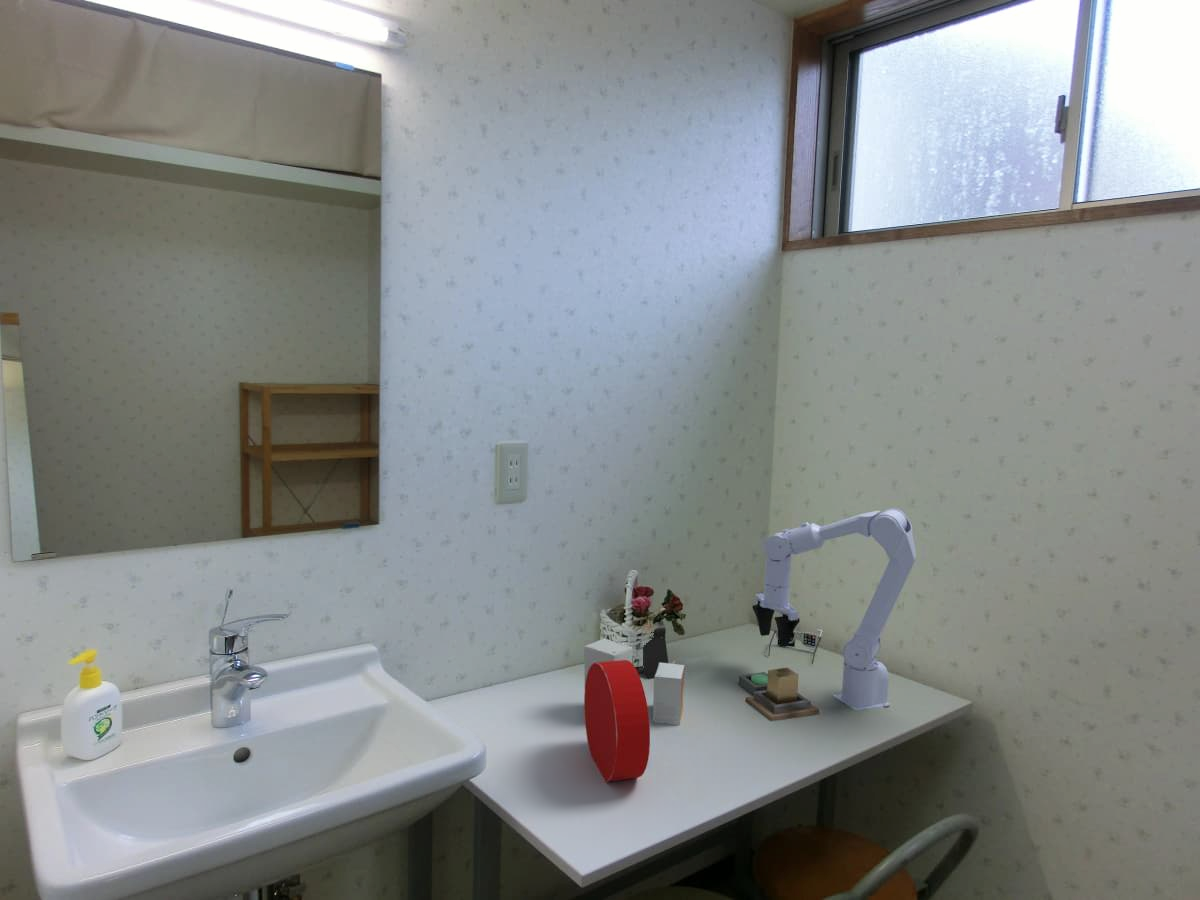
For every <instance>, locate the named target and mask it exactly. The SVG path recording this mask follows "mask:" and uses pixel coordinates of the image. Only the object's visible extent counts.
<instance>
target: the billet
mask: <svg viewBox="0 0 1200 900" xmlns="http://www.w3.org/2000/svg"><path fill="white" fill-rule="evenodd" d="M767 674H768V682H767V698H768V699H770V700H771V701H772V702H774V703H775V704H776V705H778V704H784V703H790V702H797V693H799V692H798V690H799V688H798V687H799V676H800V675H799V673H797V672H795V671H794V670H792V669H791V668H789V667H782V668H781V667H780V668H774V669H769V670H767Z"/></svg>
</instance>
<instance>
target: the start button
mask: <svg viewBox="0 0 1200 900" xmlns="http://www.w3.org/2000/svg"><path fill="white" fill-rule="evenodd" d="M752 674H753V675H752V676H751V681H752V682H753V683H754V684H756V685H762V684H767V682H768V676H767V675H764V674H754V673H752Z"/></svg>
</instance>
